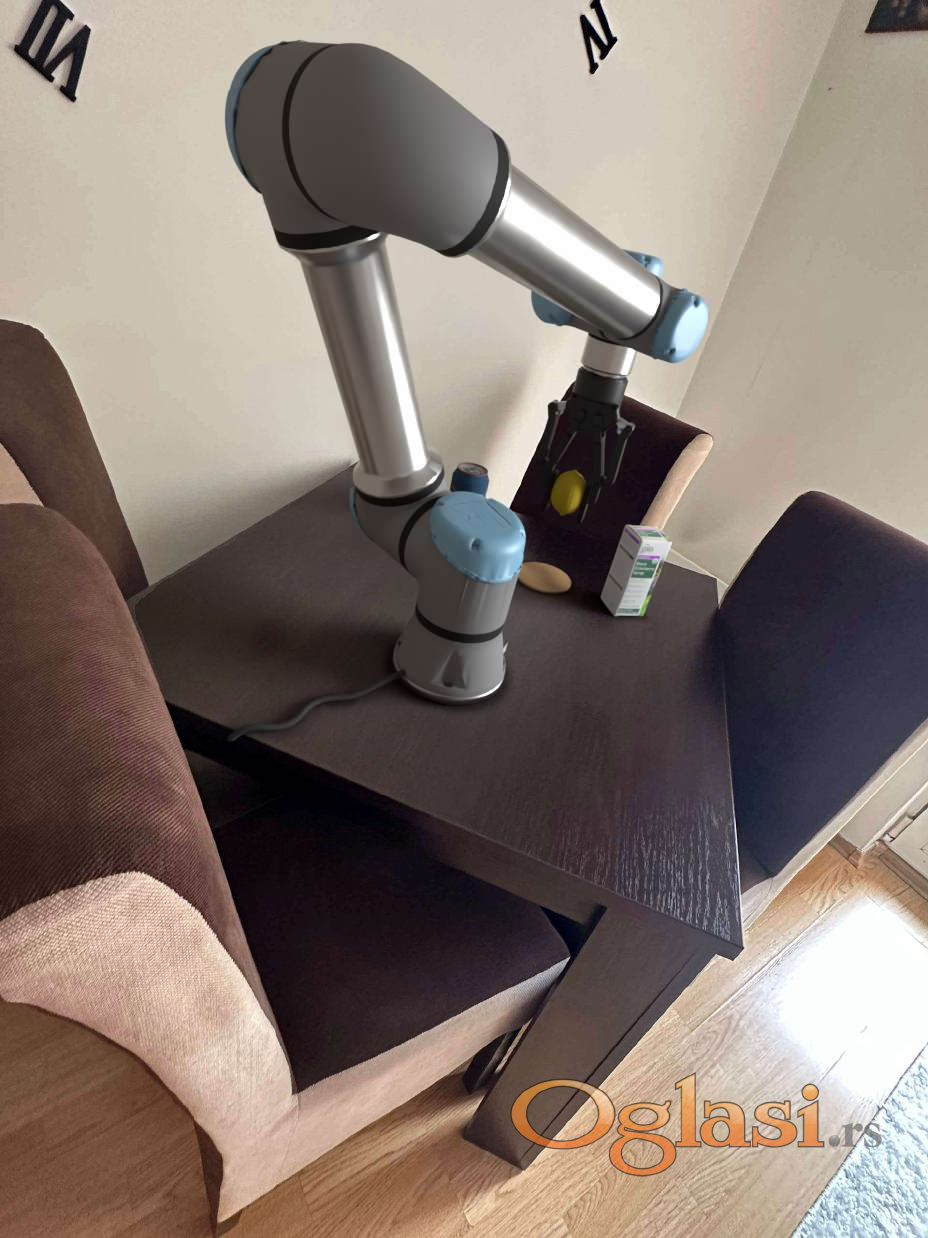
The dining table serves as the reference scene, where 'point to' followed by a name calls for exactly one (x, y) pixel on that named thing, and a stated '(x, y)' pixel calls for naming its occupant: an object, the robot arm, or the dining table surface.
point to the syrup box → (635, 570)
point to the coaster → (544, 578)
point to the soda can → (470, 478)
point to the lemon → (568, 492)
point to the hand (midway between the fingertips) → (562, 513)
